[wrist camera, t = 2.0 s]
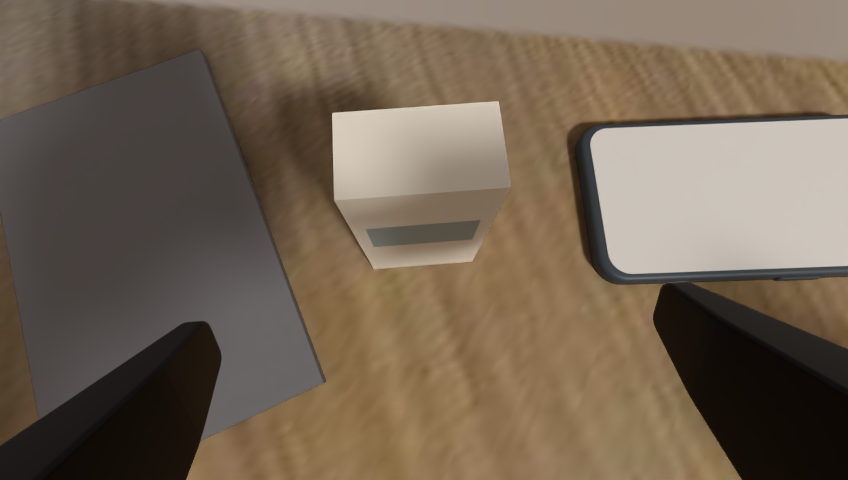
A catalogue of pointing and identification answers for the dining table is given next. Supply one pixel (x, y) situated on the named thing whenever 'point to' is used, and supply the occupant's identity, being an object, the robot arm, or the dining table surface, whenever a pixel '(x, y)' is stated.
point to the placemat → (146, 241)
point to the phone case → (717, 199)
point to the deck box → (420, 180)
